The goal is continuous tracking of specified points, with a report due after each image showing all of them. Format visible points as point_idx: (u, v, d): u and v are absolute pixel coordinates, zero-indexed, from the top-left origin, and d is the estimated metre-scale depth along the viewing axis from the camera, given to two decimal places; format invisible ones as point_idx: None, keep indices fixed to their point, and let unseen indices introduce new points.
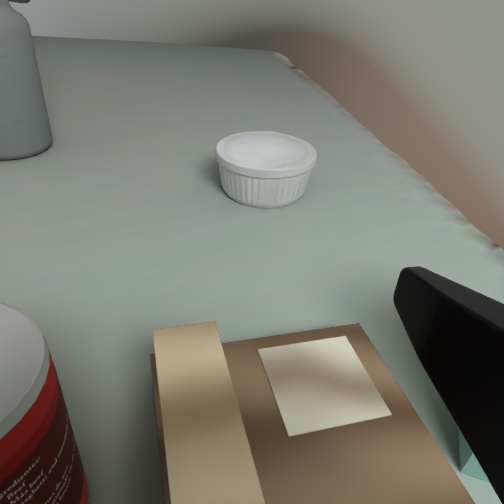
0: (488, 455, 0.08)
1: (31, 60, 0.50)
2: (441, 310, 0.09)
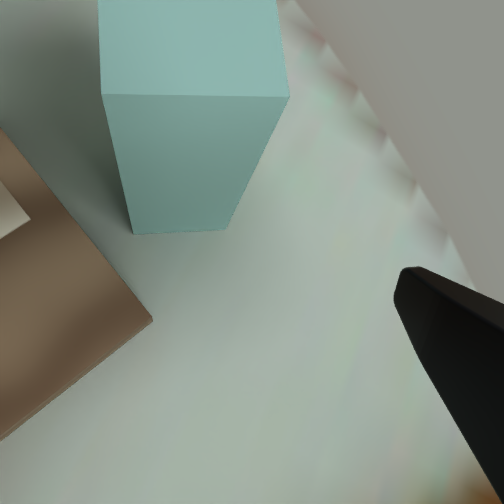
0: (488, 455, 0.08)
1: None
2: (441, 310, 0.09)
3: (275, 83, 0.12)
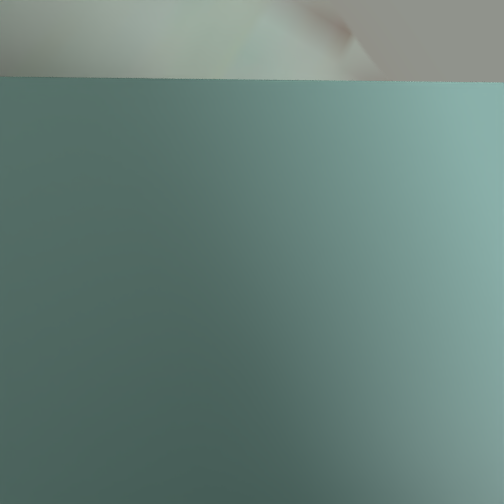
0: None
1: None
2: None
3: None
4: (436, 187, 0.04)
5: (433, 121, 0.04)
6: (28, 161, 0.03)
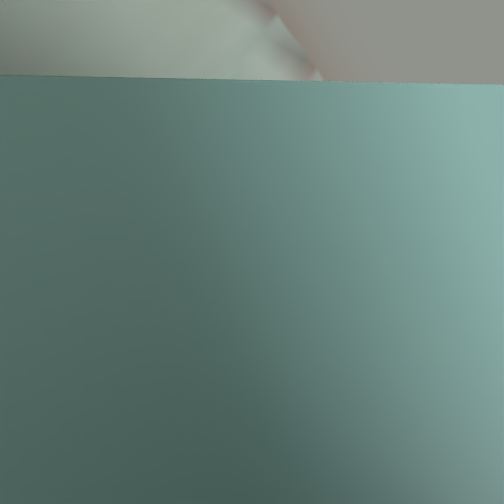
0: None
1: None
2: None
3: None
4: (439, 185, 0.04)
5: (436, 122, 0.04)
6: (46, 156, 0.03)
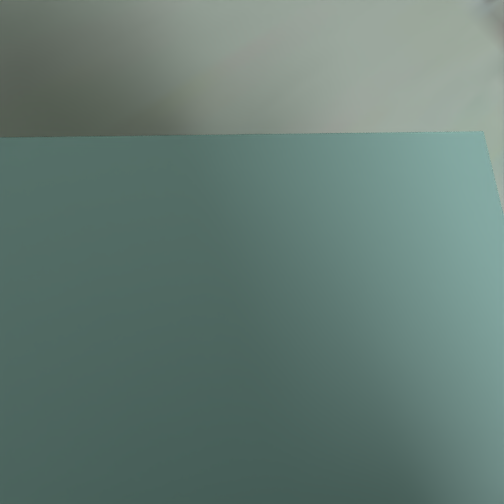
0: None
1: None
2: None
3: None
4: (401, 221, 0.04)
5: (399, 166, 0.05)
6: (72, 206, 0.04)
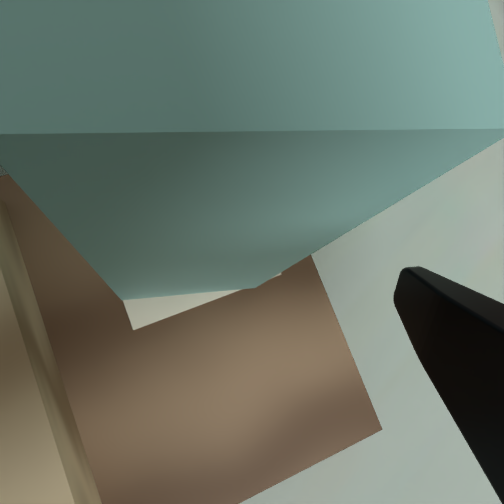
0: (488, 455, 0.08)
1: None
2: (441, 310, 0.09)
3: (480, 92, 0.04)
4: None
5: None
6: None
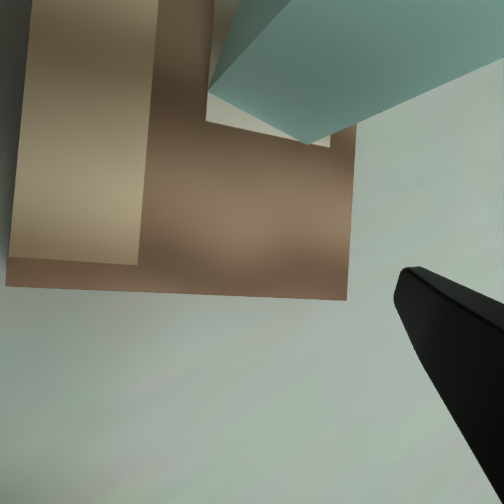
0: (488, 455, 0.08)
1: None
2: (441, 310, 0.09)
3: None
4: None
5: None
6: None
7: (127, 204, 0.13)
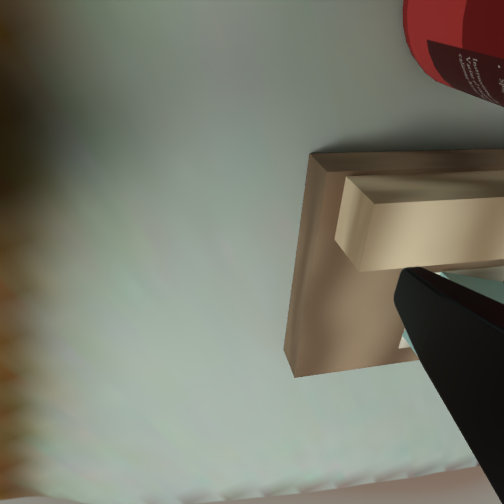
0: (488, 455, 0.08)
1: None
2: (441, 310, 0.09)
3: None
4: None
5: None
6: None
7: (397, 260, 0.20)
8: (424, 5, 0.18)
